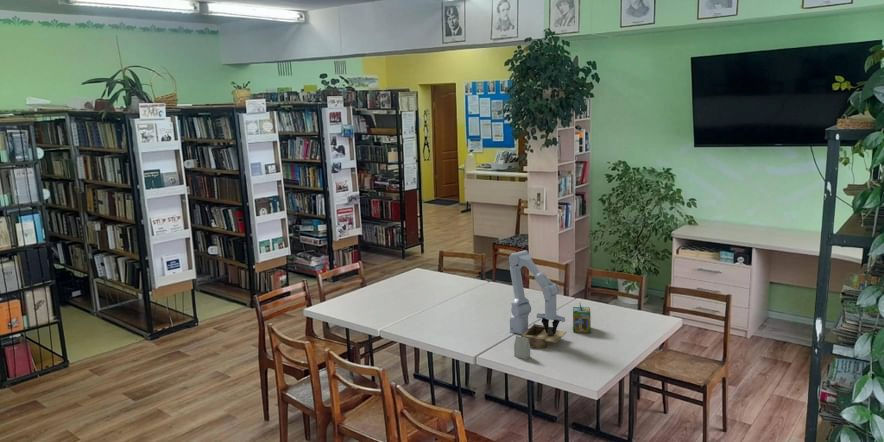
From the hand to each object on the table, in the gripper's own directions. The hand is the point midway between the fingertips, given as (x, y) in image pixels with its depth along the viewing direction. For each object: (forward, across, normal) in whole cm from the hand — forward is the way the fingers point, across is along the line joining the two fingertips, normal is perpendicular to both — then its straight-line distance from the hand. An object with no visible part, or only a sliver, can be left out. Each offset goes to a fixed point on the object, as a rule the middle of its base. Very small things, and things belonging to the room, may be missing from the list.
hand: (550, 333), depth 309 cm
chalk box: (+6, +8, +24) cm, 26 cm away
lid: (+2, 0, 0) cm, 2 cm away
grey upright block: (+6, -6, -22) cm, 24 cm away
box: (+5, -6, 0) cm, 8 cm away
